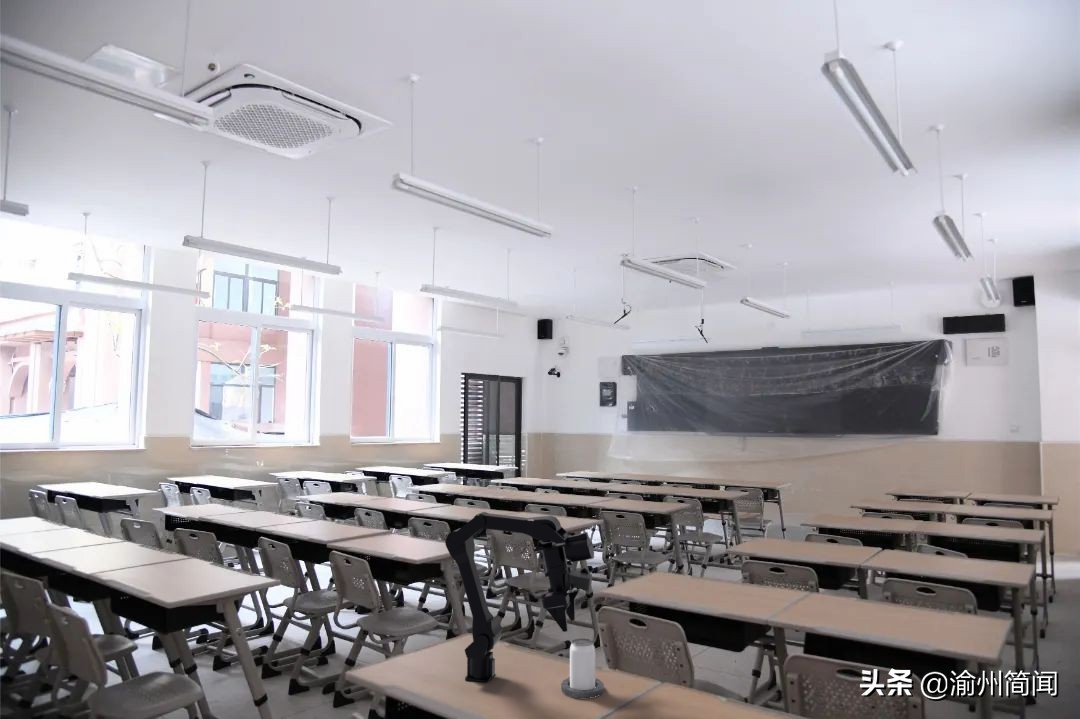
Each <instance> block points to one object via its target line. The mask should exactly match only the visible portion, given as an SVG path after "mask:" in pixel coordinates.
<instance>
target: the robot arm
mask: <svg viewBox="0 0 1080 719" xmlns="http://www.w3.org/2000/svg"><path fill="white" fill-rule="evenodd" d="M484 529H485V530H492V531H493V530H494V531H501V532H510V533H517V534H523V535H526V536H529V537H530V538H533V539H535V540H538V541H537V544H536V546H535V548H533V552H534V553H536V552H541V553H542V557H543V563H544V566H545V572H544V577H545V578H547V580H548V581H547V582H548V585H549V588H548V589H547V592H548V593H547V594H545V596H544V598H543V599H542V600H541V602H542V607H543V609H544V610H545V611H547V613H549V615H550V616H551V617H552V618H553V620H554V621H555V623H557V625H558V627H559V628H560V629H561V631H562V632H563V633H565V632H568V619H569V620H570V622H574V621H575V620H576V599H577V596H578V594H579V593H580V591H581V590H582V591H586V592H588V591H590V589H591V588H592V581H593V574H592V573H591V571H590V570H589V568H587V567H582V568H581V569H580V571H578V570H577V571H573V570H572V567H571V566H570V565H569V564H568V562H567V560H568V561H570V562H571V563H576V562H582V561H588V560H593V559H594V558H595V550H594V544H593V542H592V540H591V538H590V536H589V533H588V532H587V531H586V532H581V533H579V534H575V535H571V534H570V533H569V531H567V530H566V529H565V528H564V527H563V526H562V525H561V522H560V520H559V519H558V518H557V517H556V516H553V515H544V516H534V517H521V516H513V515H507V514H506V515H503V514H498V513H497V514H496V513H489V512H487V511H481V512H479V513H477V514H475V515H474V516H473V518H471V519H470V520H469V521H467V523H465V524H464V525H463V526H462V527H460V528H457V529H455V530H453V531H451V532H449V534H447V536H446V537H445V541H444V542H445V543H444V544H445V547H446V549H447V551H448V553H449V555H450V557H451V559H452V560H453V561H454V563H455V564H456V565H457V567H458V570H459V575H460V579H461V581H462V584H463V588H464V592H465V596H466V599H467V602H468V606H469V609H470V613H471V616H472V622H471V623H472V626H471V633H472V634H471V635H472V642H471V643H470V644H469V645H467V647H465V649H464V653H465V656H466V659H467V661H466V664H467V665H466V668H467V670H466V671H467V672H466V676H465V677H464V680H465V681H473V682H482V683H483V682H484V683H489V681H491V679H492V678H493V677H494V675H495V674H496V669H495V668H496V658H494V651H492V650H493V649H494V647H495V646H496V644H498V643H499V641H500V640H501V637H502V631H503V629H504V628H503V626H502V625H501V623H500V617H499V614H496V615H493V614H492V613H491V612H490V609H489V606H488V602H487V600H486V596H485V593H484V590H483V586H482V582H481V579H480V575H479V572H478V569H477V565H476V562H475V549H476V548H475V547H476V546H475V539H474V538H475V537H477V536H478V535H479V534H480V533H481V532H482V531H483V530H484Z"/></svg>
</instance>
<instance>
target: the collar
mask: <svg viewBox="0 0 1080 719" xmlns="http://www.w3.org/2000/svg"><path fill="white" fill-rule="evenodd" d="M569 686H570V676H569V677H568V678H565V679H563V681H562V682H561V684H560V687H561V688H560V689H561V690H562V691H561V692H562V693H563V694H564V695H565V696H567V697H569V696H571V697H570V698H572V697H573V699H578V698H590V697H595V696H598V695H600V696H602V695H603V694H604V690H605V683H603V681H601V679H599V678H596V677H595V687H596V688H593V689H590V690H576V689H573V688H571V687H569ZM601 694H602V695H601ZM574 697H575V698H574ZM598 697H599V696H598ZM590 699H591V698H590Z"/></svg>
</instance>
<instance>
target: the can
mask: <svg viewBox="0 0 1080 719" xmlns="http://www.w3.org/2000/svg"><path fill="white" fill-rule="evenodd" d="M569 677H570V687H571V688H573V689H576V690H590V689H593V688H595V678H596V647H595V645H594V640H592V639H590V638H585V637H584V638H583V637H580V638H574V639H572V640H571V644H570V646H569Z"/></svg>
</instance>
